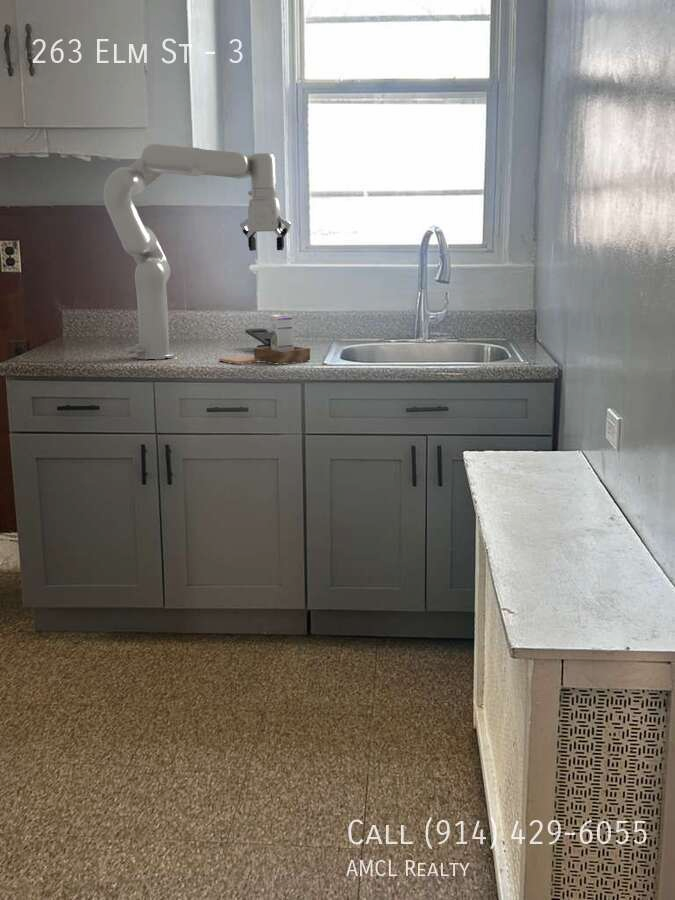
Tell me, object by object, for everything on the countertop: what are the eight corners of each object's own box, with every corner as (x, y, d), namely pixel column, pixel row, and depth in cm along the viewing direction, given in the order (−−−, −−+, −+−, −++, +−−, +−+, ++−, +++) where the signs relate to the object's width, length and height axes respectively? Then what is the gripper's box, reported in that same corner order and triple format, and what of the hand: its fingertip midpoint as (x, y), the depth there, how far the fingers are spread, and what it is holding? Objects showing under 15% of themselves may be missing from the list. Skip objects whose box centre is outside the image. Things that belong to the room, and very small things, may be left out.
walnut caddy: (280, 365, 322) (280, 352, 321) (254, 361, 331) (254, 348, 330) (310, 361, 330) (309, 348, 330) (283, 357, 339) (283, 344, 338)
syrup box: (294, 361, 329) (294, 315, 326) (277, 362, 327) (276, 316, 323) (287, 359, 334) (286, 313, 331) (270, 360, 332) (269, 314, 328)
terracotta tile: (239, 364, 322) (239, 361, 322) (218, 361, 329) (218, 358, 329) (263, 361, 329) (263, 358, 329) (243, 358, 336) (243, 355, 336)
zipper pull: (267, 328, 364) (292, 335, 341) (267, 347, 365) (293, 356, 343) (242, 329, 360) (266, 337, 338) (243, 348, 362) (267, 357, 339)
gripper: (233, 195, 327) (236, 251, 331) (283, 193, 320) (285, 250, 324) (245, 195, 334) (247, 250, 338) (294, 193, 327) (296, 249, 331)
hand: (266, 250), depth 331 cm, fingers open, 9 cm apart
